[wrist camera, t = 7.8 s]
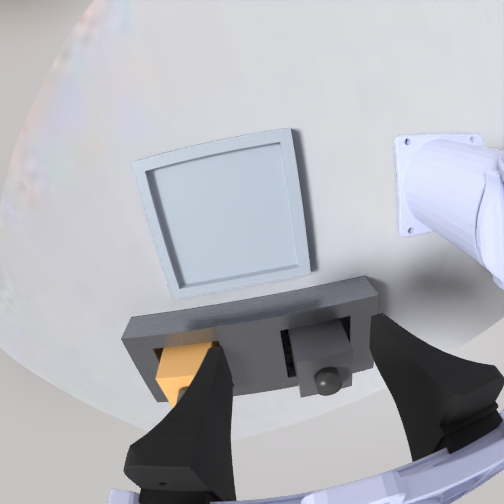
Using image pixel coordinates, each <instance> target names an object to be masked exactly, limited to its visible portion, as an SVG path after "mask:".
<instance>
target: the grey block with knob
mask: <svg viewBox="0 0 504 504" xmlns="http://www.w3.org/2000/svg"><path fill="white" fill-rule="evenodd" d="M288 336H289V342H290V348H291V353H292V358H293V362H294V367H295V371H296V376H297V381H298V386H299V390H300V395H301V397H306V396H311V395H316V394H320V395H324V396H327V395H332V394H334V393H336V392H338V391H339V390H340V389H341V388H345V387H349V386H352V370H353V348H352V346H351V344H350V342H349V339H348V337H347V335H346V333H345V331H344V329H343V326H342V324H341V322H340V320H339V318H338V319H333V320H329V321H324V322H320V323H315V324H310V325H305V326H301V327H296V328H290V329H288Z"/></svg>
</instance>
